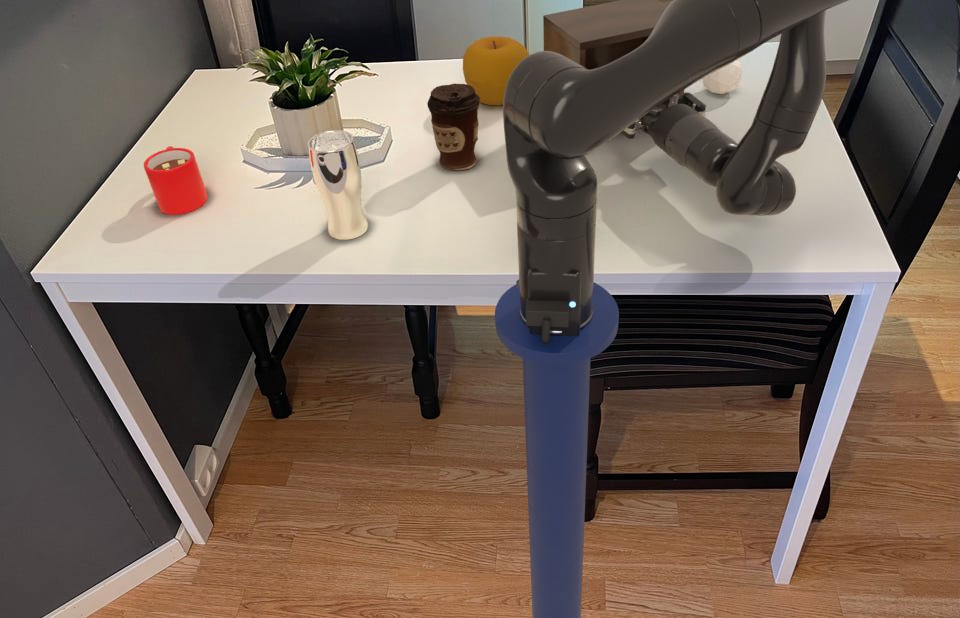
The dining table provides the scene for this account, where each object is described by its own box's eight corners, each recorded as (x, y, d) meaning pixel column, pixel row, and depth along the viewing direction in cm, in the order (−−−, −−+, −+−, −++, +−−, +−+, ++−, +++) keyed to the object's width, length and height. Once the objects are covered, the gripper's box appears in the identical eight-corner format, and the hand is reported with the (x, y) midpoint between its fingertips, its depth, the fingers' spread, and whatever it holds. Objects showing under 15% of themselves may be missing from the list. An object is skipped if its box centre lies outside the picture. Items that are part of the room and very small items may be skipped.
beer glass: (358, 245, 117) (340, 155, 108) (317, 238, 120) (296, 149, 110) (378, 220, 122) (363, 132, 113) (339, 213, 124) (320, 126, 115)
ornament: (691, 86, 152) (711, 46, 150) (727, 102, 151) (747, 62, 150) (696, 82, 145) (717, 40, 143) (733, 99, 145) (754, 57, 143)
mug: (202, 174, 137) (189, 132, 132) (210, 207, 128) (196, 164, 123) (156, 184, 135) (140, 143, 130) (160, 219, 127) (144, 176, 122)
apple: (479, 82, 160) (475, 25, 152) (539, 88, 156) (539, 31, 148) (454, 109, 151) (449, 51, 143) (518, 117, 147) (516, 57, 139)
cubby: (680, 128, 139) (692, 19, 127) (577, 153, 135) (580, 42, 122) (640, 97, 150) (648, -6, 137) (544, 120, 145) (543, 15, 133)
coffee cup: (464, 180, 130) (457, 106, 122) (423, 168, 134) (415, 96, 126) (492, 156, 136) (488, 85, 127) (452, 146, 139) (446, 76, 131)
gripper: (733, 105, 118) (675, 67, 130) (649, 125, 115) (597, 84, 127) (726, 150, 123) (670, 109, 135) (645, 171, 119) (596, 127, 131)
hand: (635, 97), depth 131 cm, fingers open, 8 cm apart
